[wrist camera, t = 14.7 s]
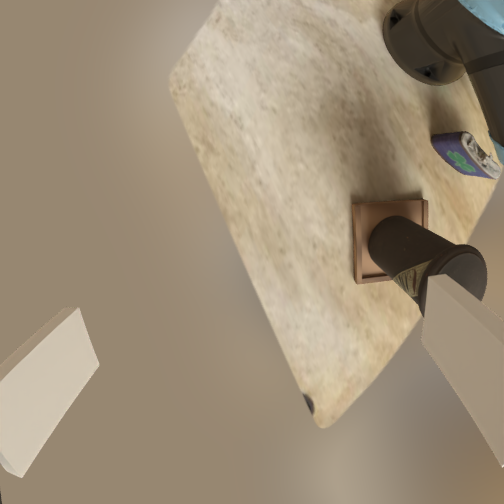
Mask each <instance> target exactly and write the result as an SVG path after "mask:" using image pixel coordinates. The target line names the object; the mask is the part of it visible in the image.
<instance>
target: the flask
mask: <svg viewBox="0 0 504 504" xmlns="http://www.w3.org/2000/svg"><path fill="white" fill-rule="evenodd" d="M431 144H432V146H433V148H434V149H435V151H436V152H437V153H438V154H439V155H440V156H441V158H442V159H444V160H445V162H447V163H448V164H449V165H451V166H452V167H453V168H455V170H457V171H458V172H460V173H462V174H464V175H470V176H478V177H484V178H490V179H495V180H496V179H498V177H499V176H500V167H499V166H498V164H497V163H495V162H494V161H493V160H492V159H493V157H492V154H491V153H490V156H488V155H487V154H486V153H485V152H484V151H483V150H482V149H481V148H480V146H479V145H478V144H477V142H476V141H475V139H474V137H473V136H472V135H471V134H470V133H469V132H466V131H464V132H463V131H461V132H454V133H445V134H435V135H433V136H432V138H431Z"/></svg>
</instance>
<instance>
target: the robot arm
mask: <svg viewBox="0 0 504 504" xmlns="http://www.w3.org/2000/svg"><path fill="white" fill-rule="evenodd" d="M383 35H384V40H385V43H386V46H387V48H388V50H389V52H390V54H391V56H392V57H393V59H394V60H395V62H396V63H397V64H398V65H399V66H400V67H401V68H402V69H403V70H404V71H405V72H406V73H407V74H409V75H410V76H411V77H413V78H415V79H416V80H418V81H420V82H423V83H425V84H429V85H435V86H440V85H446V84H449V83H452V82H454V81H456V80H458V79H459V78H460V77H462V76H463V74H464V73H465V72H467V74H468V76H469V79H470V81H471V83H472V86H473V88H474V91H475V93H476V96H477V98H478V101H479V103H480V106H481V109H482V111H483V114H484V117H485V120H486V123H487V126H488V129H489V131H488V133H489V137H490V139H491V140H492V142H493V144H494V147H495V150H496V153H497V156H498V159H499V161H500V162H501V163H502V164H503V165H504V0H404V1H402V2H400V3H398V4H396V5H395V6H394V7H393V8H392V9H391V10H390V11H389V13H388V14H387V16H386V17H385V20H384V24H383ZM421 343H422V344H423V346H424V347H425V349H426V350H427V351H428V353H429V354H430V356H431V357H432V358H433V360H434V361H435V363H436V364H437V366H438V367H439V369H440V370H441V371H442V373H443V374H444V376H445V377H446V379H447V380H448V382H449V383H450V385H451V386H452V387H453V389H454V391H455V392H456V394H457V395H458V397H459V398H460V400H461V401H462V403H463V404H464V406H465V407H466V409H467V410H468V412H469V414H470V415H471V417H472V418H473V420H474V422H475V423H476V425H477V427H478V428H479V430H480V431H481V433H482V435H483V436H484V438H485V440H486V441H487V443H488V445H489V446H490V448H491V450H492V452H493V453H494V455H495V457H496V458H497V460H498V462H499V464H500V465H501V467H504V321H503V320H502V319H501V318H500V317H499V316H498V315H496V314H495V313H494V312H492V311H491V310H490V309H489V308H488V307H487V306H485V305H484V304H483V303H482V302H481V301H479V300H478V299H477V298H476V297H474V296H473V295H472V294H471V293H469V292H468V291H467V290H466V289H464V288H463V287H462V286H461V285H459V284H458V283H457V282H455V281H454V280H453V279H451V278H450V277H449V276H448V275H446V274H442V275H435V276H429V277H428V286H427V297H426V306H425V315H424V324H423V330H422V337H421ZM98 366H99V362H98V360H97V357H96V355H95V352H94V349H93V347H92V344H91V341H90V338H89V336H88V333H87V330H86V327H85V324H84V321H83V319H82V315H81V312H80V309H79V307H69V308H68V307H66V308H64V309H63V310H61V311H60V312H59V313H58V314H57V315H56V316H54V317H53V318H52V319H51V320H50V321H48V322H47V323H46V324H45V325H44V326H43V327H42V328H40V329H39V330H38V331H37V332H36V333H35V334H34V335H32V336H31V337H30V338H29V339H28V340H27V341H26V342H25V343H23V344H22V345H21V347H19V348H18V349H17V350H16V351H15V352H14V353H12V354H11V355H10V356H9V357H8V358H7V359H6V360H5V361H4V362H3V363H2V364H1V365H0V463H1V465H2V466H3V467H4V468H5V470H6V471H8V472H9V473H12V474H14V475H16V476H18V477H20V478H22V477H23V476H24V474H25V473H26V471H27V469H28V468H29V466H30V465H31V463H32V462H33V460H34V459H35V457H36V456H37V454H38V452H39V451H40V450H41V448H42V447H43V445H44V443H45V442H46V440H47V439H48V438H49V436H50V435H51V433H52V432H53V430H54V429H55V427H56V426H57V424H58V423H59V421H60V420H61V418H62V417H63V416H64V414H65V413H66V411H67V410H68V408H69V407H70V405H71V404H72V403H73V401H74V400H75V398H76V397H77V396H78V394H79V393H80V391H81V390H82V388H83V387H84V386H85V384H86V383H87V381H88V380H89V379H90V377H91V376H92V375H93V373H94V372H95V370H96V369H97V368H98ZM0 504H2V501H1V494H0Z"/></svg>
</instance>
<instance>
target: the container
mask: <svg viewBox="0 0 504 504" xmlns="http://www.w3.org/2000/svg"><path fill="white" fill-rule="evenodd" d="M368 250H369V255H370V257H371V259H372V261H373V262H374V263H375V264H376V265H377V266H378V267H379V268H380V269H382V270H383V271H384V272H385V273H386V274H387V275H388V276H389V277H390V278H391V279H392V280H393V281H394V282H395V283H396V284H398V285H399V286H400V287H401V288H402V289H403V290H404V291H405V292H406V293H407V294H408V295H409V296H410V297H411V298H412V299H413V300H414V301H415V302H416V303H417V304H418V305H419V309H420V311H421V314H422V315H423V317H424V315H425V306H426V297H427V286H428V277H429V276H435V275H442V274H446V275H448V276H449V277H450V278H451V279H453V280H454V281H455V282H457V283H458V284H459V285H461V286H462V287H463V288H464V289H466V290H467V291H468V292H469V293H471V294H472V295H473V296H474V297H476V298H477V299H478V300H479V301H482V299H483V296H484V293H485V289H486V285H487V268H486V264H485V261H484V258H483V257H482V255H481V253H480V252H479V251H478V250H477V249H476V248H474V247H472V246H470V245H465V244H460V245H455V244H453V243H452V242H450V241H448V240H446V239H444V238H443V237H441V236H439V235H437V234H435V233H433V232H432V231H430V230H428V229H426V228H424V227H422V226H421V225H419V224H417V223H415V222H413V221H412V220H410V219H407V218H405V217H403V216H390V217H387V218H385V219H383V220H382V221H380V222H379V223H378V224H377V225H376V227H375V228H374V229H373V231H372V233H371V235H370V238H369V243H368Z"/></svg>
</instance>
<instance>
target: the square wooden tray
mask: <svg viewBox="0 0 504 504" xmlns="http://www.w3.org/2000/svg"><path fill="white" fill-rule="evenodd" d="M352 214H353V239H354V280H355V282H356V284H365V283H373V282H381V281H389V280H392V279H391V278H390V277H389V276H388V275H387V274H386V273H385V272H384V271H383V270H382V269H380V268H379V267H378V266H377V265H376V264H375V263H374V262H373V261H372V259H371V257H370V255H369V250H368V243H369V238H370V235H371V233H372V231H373V229H374V228H375V227H376V225H377V224H378V223H379V222H380V221H382V220H383V219H385V218H387V217H390V216H403V217H405V218H407V219H410V220H412V221H413V222H415V223H417V224H419V225H421V226H422V227H424V228H426V229H428V201H427V200H424V199H417V200H400V201H384V202H370V203H356V204H352Z"/></svg>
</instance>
